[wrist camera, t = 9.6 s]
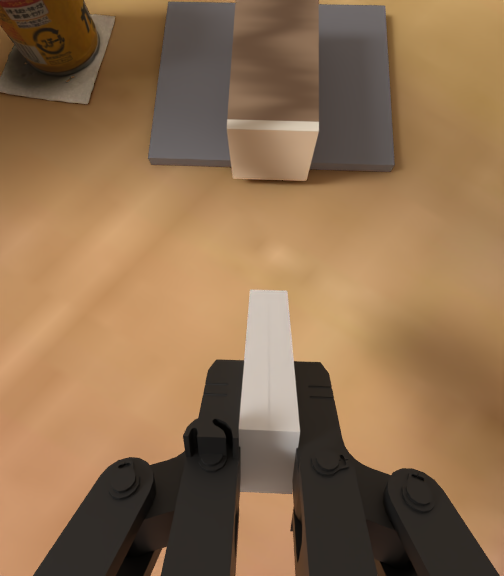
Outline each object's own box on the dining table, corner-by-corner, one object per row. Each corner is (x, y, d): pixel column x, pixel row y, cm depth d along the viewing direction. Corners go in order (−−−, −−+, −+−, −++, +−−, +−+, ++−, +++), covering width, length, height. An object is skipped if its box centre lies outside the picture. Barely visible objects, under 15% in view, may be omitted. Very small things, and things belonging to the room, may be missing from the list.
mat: (151, 164, 25) (147, 157, 24) (170, 11, 29) (168, 1, 28) (390, 171, 25) (394, 165, 24) (381, 15, 28) (385, 5, 27)
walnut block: (226, 128, 19) (238, -37, 22) (232, 178, 24) (241, 37, 27) (319, 131, 19) (318, -36, 22) (306, 180, 24) (307, 39, 27)
